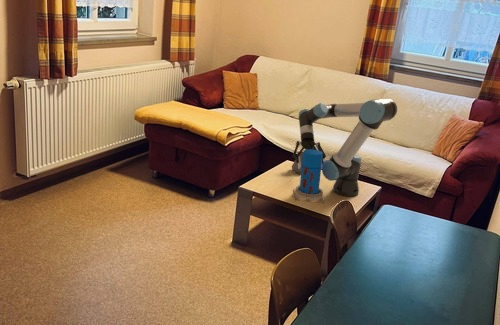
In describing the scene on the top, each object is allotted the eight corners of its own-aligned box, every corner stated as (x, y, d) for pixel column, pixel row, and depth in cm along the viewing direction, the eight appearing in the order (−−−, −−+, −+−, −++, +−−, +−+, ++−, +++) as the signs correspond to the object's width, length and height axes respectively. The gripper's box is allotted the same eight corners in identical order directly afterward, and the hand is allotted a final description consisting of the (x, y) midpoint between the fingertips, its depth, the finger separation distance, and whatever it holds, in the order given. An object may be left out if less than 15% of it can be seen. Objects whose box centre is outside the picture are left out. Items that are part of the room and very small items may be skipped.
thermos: (308, 189, 283) (312, 148, 275) (322, 195, 275) (326, 153, 267) (295, 193, 276) (299, 151, 268) (309, 199, 268) (313, 155, 261)
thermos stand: (321, 192, 283) (322, 186, 282) (324, 203, 268) (325, 196, 267) (293, 189, 283) (294, 183, 282) (295, 199, 268) (296, 193, 267)
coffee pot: (289, 168, 319) (292, 146, 314) (307, 169, 320) (310, 147, 315) (294, 179, 298) (297, 156, 294) (313, 181, 300) (316, 158, 295)
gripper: (324, 139, 286) (328, 172, 277) (285, 136, 282) (287, 170, 272) (329, 132, 280) (333, 166, 270) (288, 130, 275) (291, 164, 266)
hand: (310, 168), depth 271 cm, fingers open, 12 cm apart
